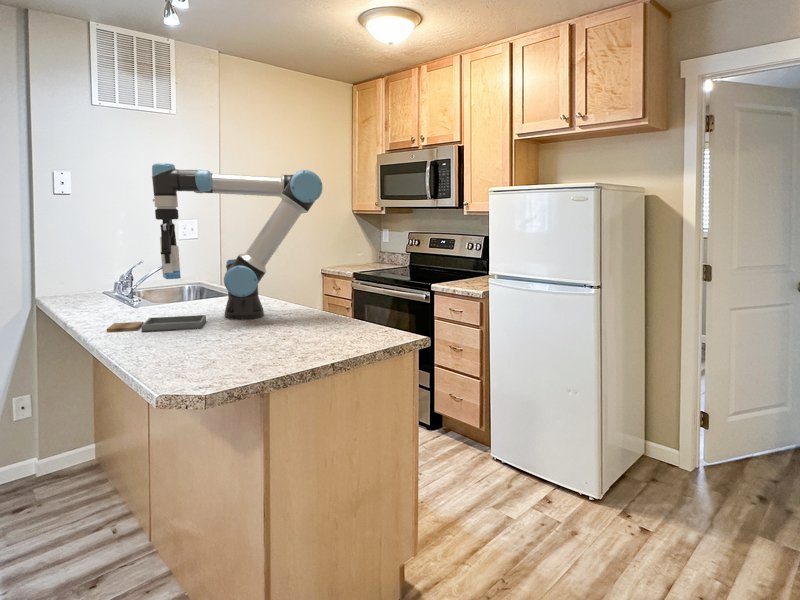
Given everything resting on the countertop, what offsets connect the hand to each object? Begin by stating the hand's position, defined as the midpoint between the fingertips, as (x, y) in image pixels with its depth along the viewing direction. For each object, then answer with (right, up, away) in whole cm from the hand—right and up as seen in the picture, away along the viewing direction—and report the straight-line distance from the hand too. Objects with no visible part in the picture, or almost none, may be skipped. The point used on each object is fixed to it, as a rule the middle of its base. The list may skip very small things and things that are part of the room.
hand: (171, 271), depth 191 cm
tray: (0, -20, +3) cm, 20 cm away
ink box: (0, -3, 0) cm, 3 cm away
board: (-17, -21, +1) cm, 27 cm away
